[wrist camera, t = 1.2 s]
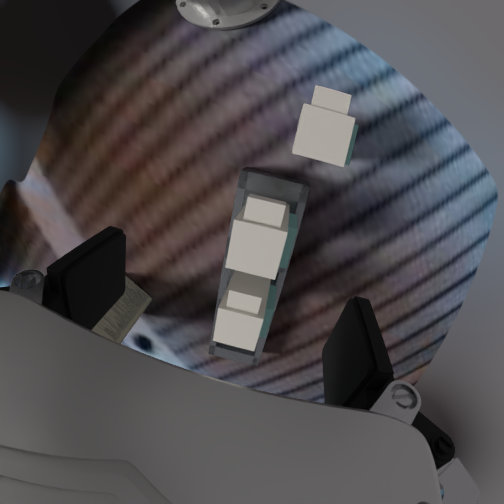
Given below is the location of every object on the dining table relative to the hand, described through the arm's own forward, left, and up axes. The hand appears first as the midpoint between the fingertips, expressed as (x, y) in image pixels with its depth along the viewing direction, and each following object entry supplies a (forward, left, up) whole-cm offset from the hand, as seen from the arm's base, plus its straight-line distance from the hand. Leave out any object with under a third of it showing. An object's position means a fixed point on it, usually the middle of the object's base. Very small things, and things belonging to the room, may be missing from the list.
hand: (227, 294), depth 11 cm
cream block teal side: (+2, 0, -19) cm, 19 cm away
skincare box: (+19, -17, -21) cm, 33 cm away
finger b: (+10, 0, -19) cm, 22 cm away
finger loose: (-7, +3, -21) cm, 23 cm away
